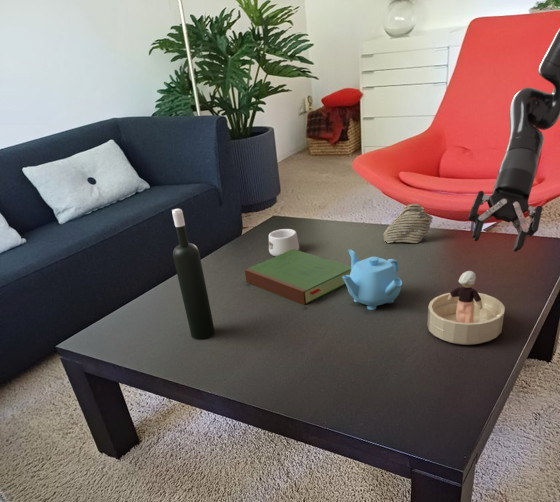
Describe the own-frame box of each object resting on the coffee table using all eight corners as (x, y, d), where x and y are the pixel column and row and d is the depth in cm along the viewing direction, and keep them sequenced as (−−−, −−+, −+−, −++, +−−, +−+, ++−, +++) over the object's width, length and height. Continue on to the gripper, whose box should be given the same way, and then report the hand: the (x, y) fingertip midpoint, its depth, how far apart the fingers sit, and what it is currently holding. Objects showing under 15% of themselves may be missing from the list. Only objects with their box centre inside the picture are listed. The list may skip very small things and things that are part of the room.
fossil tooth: (384, 241, 168) (433, 236, 164) (383, 247, 163) (433, 242, 159) (381, 205, 162) (431, 198, 158) (380, 210, 157) (432, 204, 153)
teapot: (337, 311, 129) (335, 268, 122) (349, 287, 139) (348, 247, 133) (399, 315, 124) (401, 271, 117) (407, 290, 134) (409, 248, 128)
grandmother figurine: (483, 324, 115) (489, 270, 108) (478, 332, 112) (485, 277, 105) (447, 318, 119) (452, 266, 112) (442, 326, 116) (447, 273, 109)
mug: (304, 252, 164) (303, 233, 161) (277, 260, 161) (274, 241, 158) (287, 242, 173) (286, 224, 170) (261, 249, 170) (259, 231, 167)
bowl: (512, 323, 116) (516, 300, 112) (483, 354, 106) (486, 331, 103) (446, 307, 125) (448, 286, 122) (414, 335, 115) (415, 313, 112)
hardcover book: (246, 282, 149) (244, 269, 147) (294, 260, 159) (293, 249, 157) (306, 306, 133) (305, 292, 131) (356, 280, 142) (355, 267, 140)
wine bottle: (217, 327, 128) (194, 204, 111) (210, 339, 123) (184, 213, 107) (195, 327, 129) (169, 206, 113) (187, 339, 125) (158, 214, 108)
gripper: (488, 159, 111) (467, 229, 110) (556, 175, 109) (536, 247, 108) (478, 177, 119) (459, 243, 117) (542, 192, 117) (523, 259, 115)
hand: (496, 244), depth 112 cm, fingers open, 8 cm apart
